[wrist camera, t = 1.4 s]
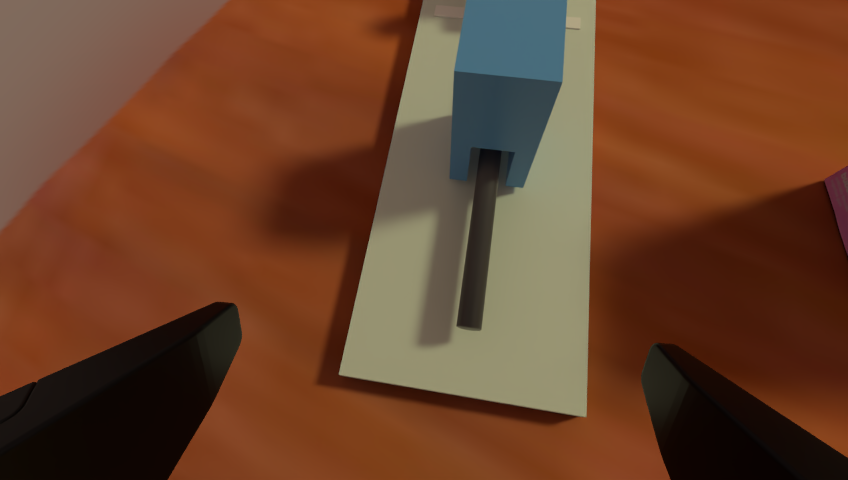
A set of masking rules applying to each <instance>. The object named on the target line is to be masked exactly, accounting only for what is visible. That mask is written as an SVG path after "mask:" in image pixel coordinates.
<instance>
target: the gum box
mask: <svg viewBox="0 0 848 480" xmlns="http://www.w3.org/2000/svg"><path fill="white" fill-rule="evenodd" d="M824 181H825V184H826V187H827V190H828V193H829V196H830V199H831V203H832V206H833V209H834V212H835V215H836V220H837V224H838V227H839V231H840V234H841V237H842V240H843V243H844V246H845V249H846V252H847V255H848V166H846V167H845V168H843V169H841V170H840V171H838V172H836V173H835V174H833V175H831V176H830V177H828V178H826V179H825V180H824Z"/></svg>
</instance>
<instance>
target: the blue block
mask: <svg viewBox="0 0 848 480" xmlns="http://www.w3.org/2000/svg"><path fill="white" fill-rule="evenodd" d="M566 13H567V0H466V5H465V11H464V17H463V22H462V28H461V34H460V39H459V45H458V51H457V57H456V62H455V68H454V82H453V106H452V130H451V154H450V178H449V179H455V180H463V181H467V176H468V169H469V162H470V155H471V148H472V147H475V148H484V149H492V150H501V151H509V156H508V165H507V175H506V184H505V186H511V187H519V188H523V187H524V184H525V182H526V179H527V176H528V174H529V171H530V168H531V165H532V163H533V160H534V157H535V155H536V152H537V149H538V147H539V144H540V141H541V139H542V136H543V133H544V131H545V128H546V125H547V123H548V120H549V117H550V115H551V112H552V109H553V107H554V104H555V101H556V99H557V96H558V93H559V90H560V88H561V85H562V82H563V67H564V49H565V31H566Z"/></svg>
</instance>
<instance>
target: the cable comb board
mask: <svg viewBox="0 0 848 480" xmlns="http://www.w3.org/2000/svg"><path fill="white" fill-rule="evenodd" d="M465 5H466V0H423V4H422V8H421V12H420V17H419V21H418V26H417V30H416V35H415V39H414V43H413V48H412V52H411V57H410V61H409V65H408V70H407V74H406V79H405V83H404V88H403V92H402V96H401V101H400V105H399V110H398V114H397V119H396V123H395V127H394V132H393V136H392V141H391V145H390V150H389V154H388V158H387V163H386V167H385V172H384V176H383V181H382V185H381V189H380V194H379V198H378V203H377V207H376V211H375V216H374V220H373V225H372V229H371V234H370V238H369V242H368V247H367V251H366V256H365V260H364V265H363V269H362V273H361V278H360V282H359V287H358V291H357V296H356V300H355V304H354V309H353V313H352V318H351V322H350V327H349V331H348V335H347V340H346V344H345V349H344V353H343V357H342V362H341V366H340V371H339V375H341V376H344V377H349V378H355V379H361V380H367V381H373V382H379V383H384V384H390V385H396V386H402V387H408V388H414V389H419V390H425V391H431V392H437V393H443V394H449V395H454V396H460V397H466V398H472V399H478V400H484V401H489V402H495V403H501V404H507V405H513V406H519V407H524V408H530V409H536V410H542V411H548V412H554V413H559V414H565V415H571V416H577V417H586V411H587V366H588V322H589V277H590V233H591V188H592V144H593V99H594V55H595V10H596V0H567V13H566V31H565V49H564V67H563V82H562V85H561V88H560V90H559V93H558V96H557V99H556V101H555V104H554V107H553V109H552V112H551V115H550V117H549V120H548V123H547V125H546V128H545V131H544V133H543V136H542V139H541V141H540V144H539V147H538V149H537V152H536V155H535V157H534V160H533V163H532V165H531V168H530V171H529V174H528V176H527V179H526V182H525V184H524V187H523V188H519V187H511V186H505V184H506V175H507V165H508V156H509V151H501V150H492V149H484V148H475V147H472V148H471V155H470V162H469V169H468V176H467V181H463V180H455V179H449V178H450V154H451V130H452V106H453V82H454V68H455V62H456V57H457V51H458V45H459V39H460V34H461V28H462V22H463V17H464V11H465Z"/></svg>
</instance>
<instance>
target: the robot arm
mask: <svg viewBox="0 0 848 480" xmlns="http://www.w3.org/2000/svg"><path fill="white" fill-rule="evenodd" d="M241 339H242V331H241V325H240V319H239V313H238V308H237V306H236V305H235V304H234V303H226V302H215V303H212V304H210V305H208V306H205V307H203V308H201V309H199V310H196V311H194V312H192V313H190V314H187V315H185V316H183V317H180V318H178V319H176V320H174V321H171V322H169V323H167V324H164V325H162V326H160V327H158V328H155V329H153V330H151V331H148V332H146V333H144V334H142V335H139V336H137V337H135V338H133V339H130V340H128V341H126V342H123V343H121V344H119V345H117V346H114V347H112V348H110V349H107V350H105V351H103V352H101V353H98V354H96V355H94V356H91V357H89V358H87V359H85V360H82V361H80V362H78V363H76V364H73V365H71V366H69V367H66V368H64V369H62V370H60V371H57V372H55V373H53V374H50V375H48V376H46V377H44V378H41V379H39V380H38V381H37V383H36V382H32V383H30V384H27V385H25V386H23V387H21V388H18V389H16V390H14V391H12V392H9V393H7V394H5V395H2V396H0V480H168V478H169V476H170V475H171V473H172V471H173V470H174V468H175V466H176V465H177V463H178V461H179V459H180V458H181V456H182V454H183V453H184V451H185V449H186V448H187V446H188V444H189V443H190V441H191V439H192V438H193V436H194V434H195V433H196V431H197V429H198V428H199V426H200V424H201V423H202V421H203V419H204V418H205V416H206V414H207V412H208V411H209V409H210V407H211V405H212V403H213V401H214V399H215V397H216V395H217V393H218V391H219V389H220V387H221V385H222V383H223V380H224V378H225V376H226V374H227V372H228V370H229V367H230V365H231V363H232V361H233V359H234V356H235V354H236V352H237V350H238V348H239V346H240V343H241ZM641 382H642V387H643V391H644V394H645V398H646V402H647V405H648V409H649V413H650V417H651V420H652V424H653V428H654V431H655V435H656V439H657V442H658V446H659V449H660V452H661V455H662V458H663V461H664V464H665V466H666V469H667V471H668V474H669V476H670V479H671V480H848V458H847V457H845V456H844V455H842V454H841V453H839V452H838V451H836V450H835V449H833V448H832V447H830V446H829V445H827V444H826V443H824V442H823V441H821V440H820V439H818V438H817V437H815V436H813V435H812V434H810V433H809V432H807V431H806V430H804V429H803V428H801V427H800V426H798V425H797V424H795V423H794V422H792V421H791V420H789V419H788V418H786V417H785V416H783V415H782V414H780V413H778V412H777V411H775V410H774V409H772V408H771V407H769V406H768V405H766V404H765V403H763V402H762V401H760V400H759V399H757V398H756V397H754V396H753V395H751V394H750V393H748V392H747V391H745V390H744V389H742V388H740V387H739V386H737V385H736V384H734V383H733V382H731V381H730V380H728V379H727V378H725V377H724V376H722V375H721V374H719V373H718V372H716V371H715V370H713V369H712V368H710V367H709V366H707V365H706V364H704V363H702V362H701V361H699V360H698V359H696V358H695V357H693V356H692V355H690V354H689V353H687V352H686V351H684V350H683V349H681V348H680V347H678V346H676V345H674V344H665V343H655V344H653V345H652V346H651V348H650V350H649V353H648V356H647V359H646V362H645V365H644V368H643V371H642V375H641Z"/></svg>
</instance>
